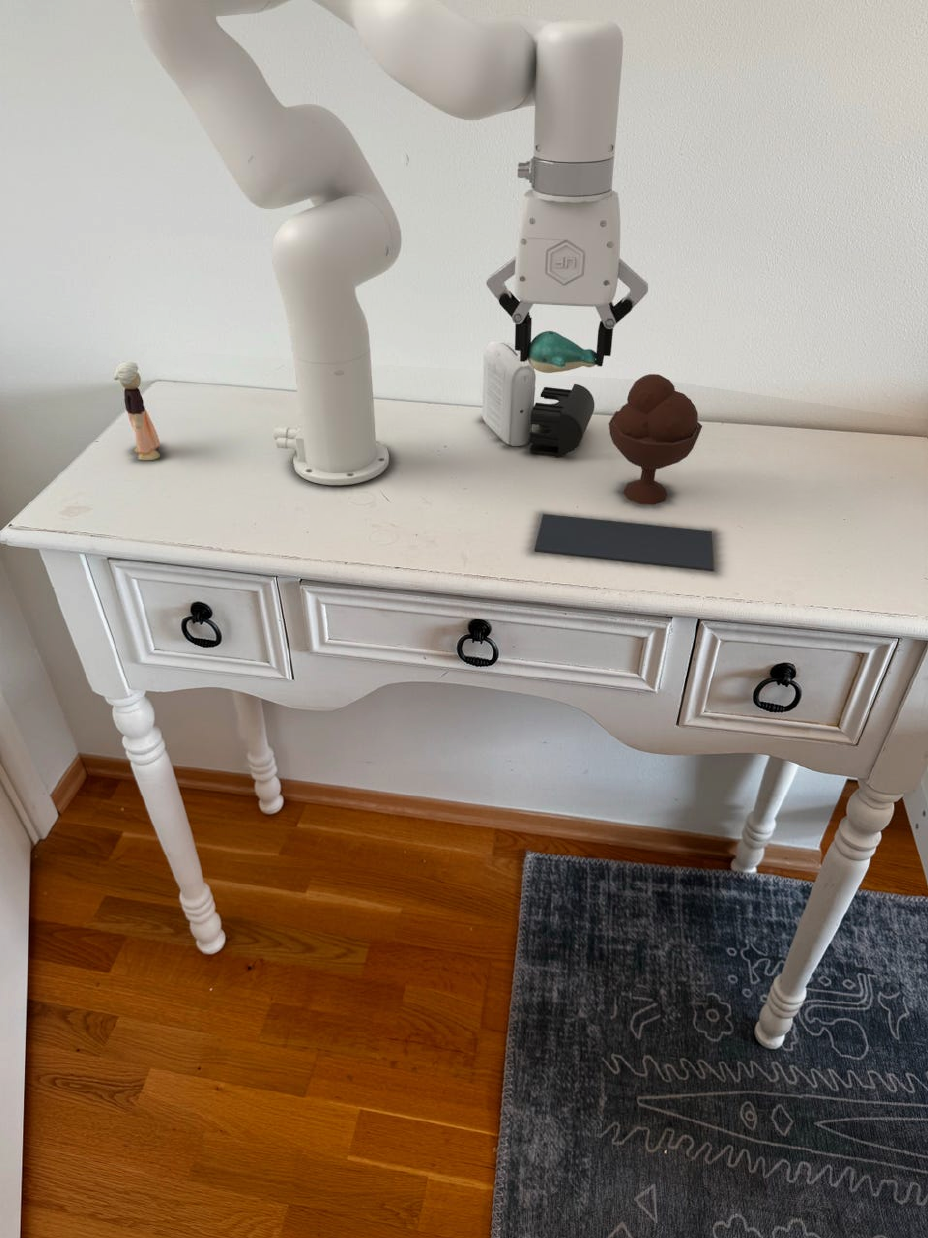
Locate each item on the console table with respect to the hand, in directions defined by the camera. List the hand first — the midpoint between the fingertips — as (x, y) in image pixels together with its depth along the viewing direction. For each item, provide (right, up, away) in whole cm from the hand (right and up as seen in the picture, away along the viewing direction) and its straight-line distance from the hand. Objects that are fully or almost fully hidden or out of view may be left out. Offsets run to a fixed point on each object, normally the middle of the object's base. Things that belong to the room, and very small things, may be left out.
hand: (562, 358), depth 94 cm
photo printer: (-4, -1, +32) cm, 32 cm away
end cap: (+3, -3, +29) cm, 29 cm away
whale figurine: (0, -1, +1) cm, 1 cm away
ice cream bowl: (+12, -12, +18) cm, 25 cm away
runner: (+8, -19, +9) cm, 22 cm away
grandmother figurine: (-54, -5, +26) cm, 60 cm away
